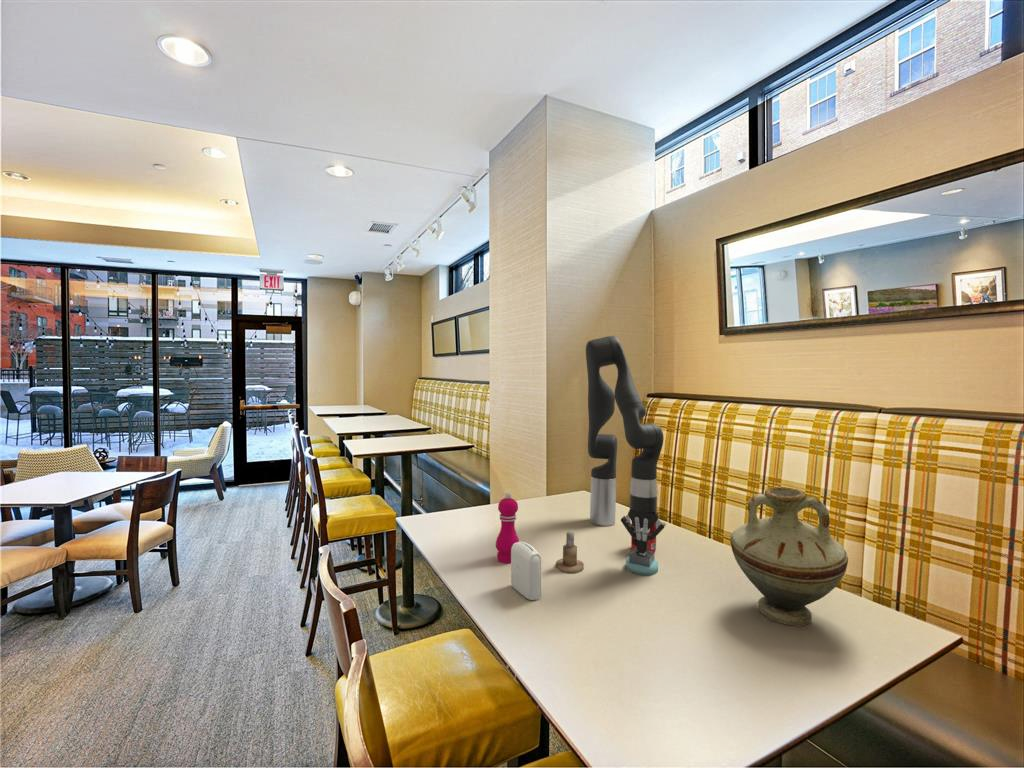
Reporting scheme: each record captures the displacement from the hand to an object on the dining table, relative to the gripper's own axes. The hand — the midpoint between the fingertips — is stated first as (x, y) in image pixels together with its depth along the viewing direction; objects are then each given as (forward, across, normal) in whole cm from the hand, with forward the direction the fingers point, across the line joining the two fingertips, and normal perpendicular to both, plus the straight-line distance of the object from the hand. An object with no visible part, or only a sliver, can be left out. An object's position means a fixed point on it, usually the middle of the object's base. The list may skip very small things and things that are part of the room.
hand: (642, 552), depth 134 cm
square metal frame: (+3, 0, 0) cm, 3 cm away
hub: (+5, 0, 0) cm, 5 cm away
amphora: (+5, +35, -9) cm, 37 cm away
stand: (+5, -18, -10) cm, 21 cm away
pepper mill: (+5, -37, -14) cm, 40 cm away
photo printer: (+5, -23, -30) cm, 38 cm away
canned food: (+5, -3, +14) cm, 15 cm away
